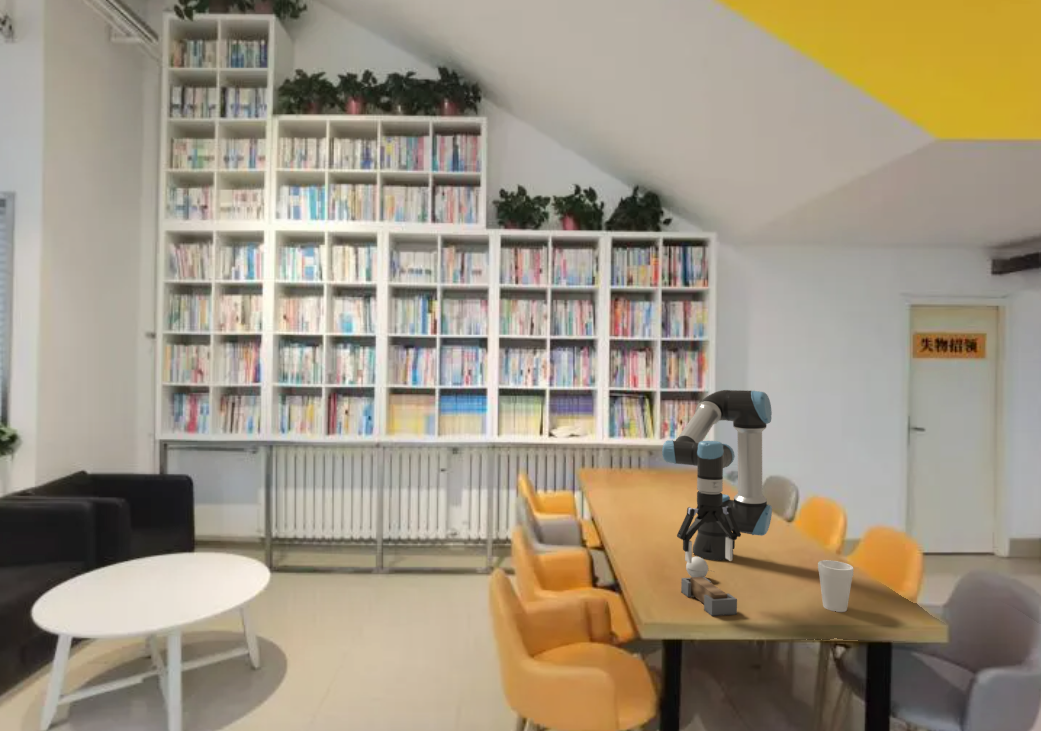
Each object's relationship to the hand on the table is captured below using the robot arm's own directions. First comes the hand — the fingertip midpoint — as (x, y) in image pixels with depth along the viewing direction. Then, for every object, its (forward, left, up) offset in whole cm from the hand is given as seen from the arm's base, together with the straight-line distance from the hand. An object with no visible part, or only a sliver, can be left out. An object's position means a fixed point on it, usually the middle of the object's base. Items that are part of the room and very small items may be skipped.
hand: (708, 560), depth 183 cm
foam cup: (+10, +37, -13) cm, 40 cm away
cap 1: (-7, 0, -13) cm, 15 cm away
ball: (-19, +8, -13) cm, 25 cm away
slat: (0, 0, -12) cm, 12 cm away
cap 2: (+7, 0, -13) cm, 15 cm away
